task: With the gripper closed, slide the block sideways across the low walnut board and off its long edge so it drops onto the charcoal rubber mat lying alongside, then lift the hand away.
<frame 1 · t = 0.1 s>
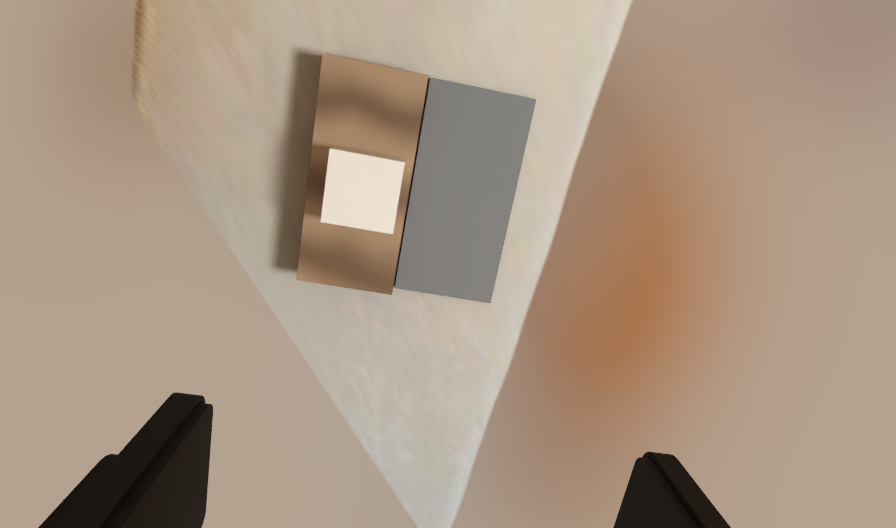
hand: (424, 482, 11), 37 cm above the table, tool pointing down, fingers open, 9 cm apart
mat: (461, 197, 46), on the table
board: (362, 178, 45), on the table
block: (364, 189, 43), point 2 cm above the table, touching board
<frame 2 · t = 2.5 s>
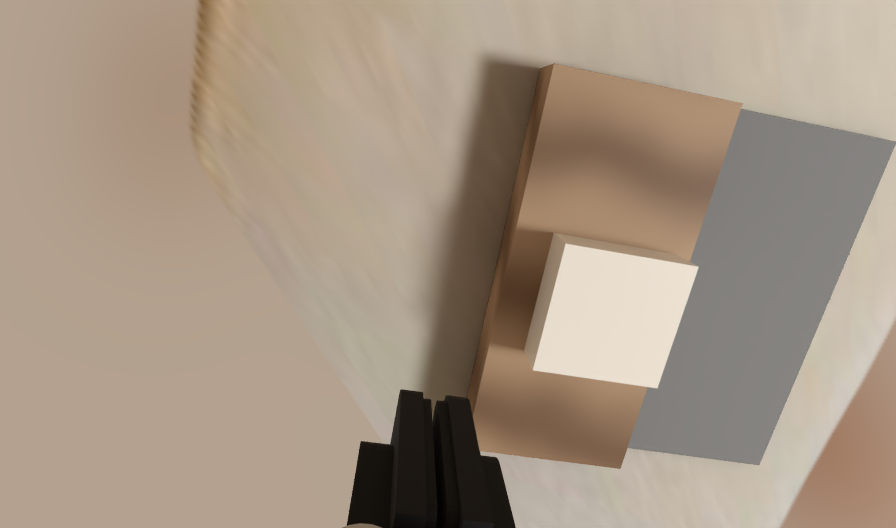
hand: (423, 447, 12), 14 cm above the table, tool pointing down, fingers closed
mat: (736, 302, 27), on the table
board: (575, 275, 26), on the table
block: (598, 303, 24), point 2 cm above the table, touching board
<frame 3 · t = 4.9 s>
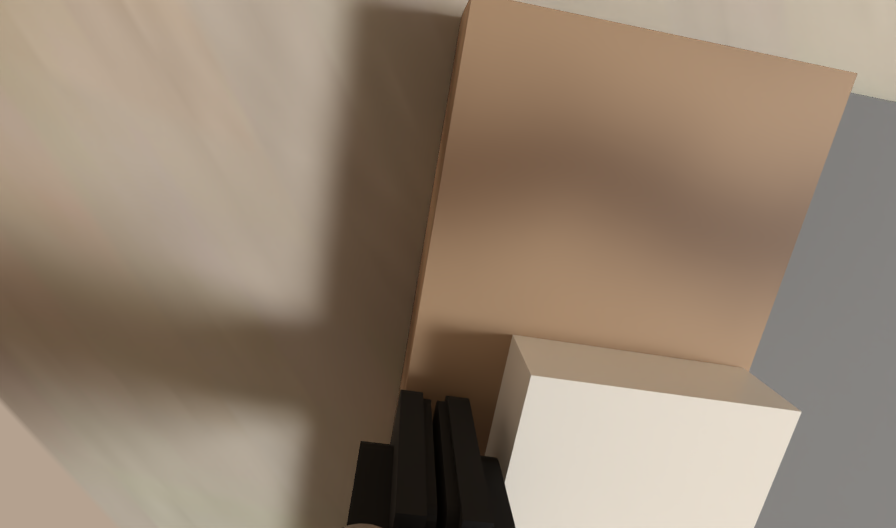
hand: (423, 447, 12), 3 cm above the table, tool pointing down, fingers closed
mat: (814, 417, 16), on the table
board: (542, 382, 15), on the table
block: (599, 455, 13), point 3 cm above the table, touching gripper
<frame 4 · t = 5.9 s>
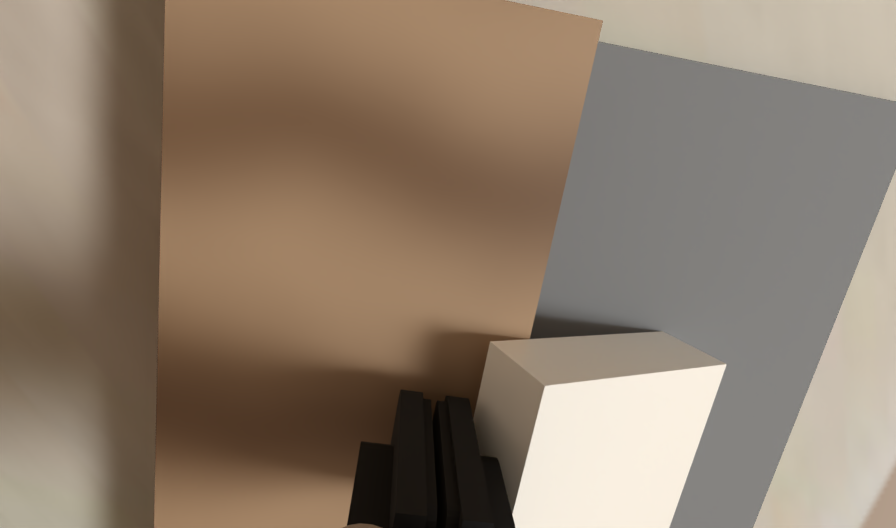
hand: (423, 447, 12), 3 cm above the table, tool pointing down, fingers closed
mat: (646, 396, 16), on the table
board: (351, 360, 15), on the table
block: (559, 436, 14), point 2 cm above the table, tilted 24°, touching gripper
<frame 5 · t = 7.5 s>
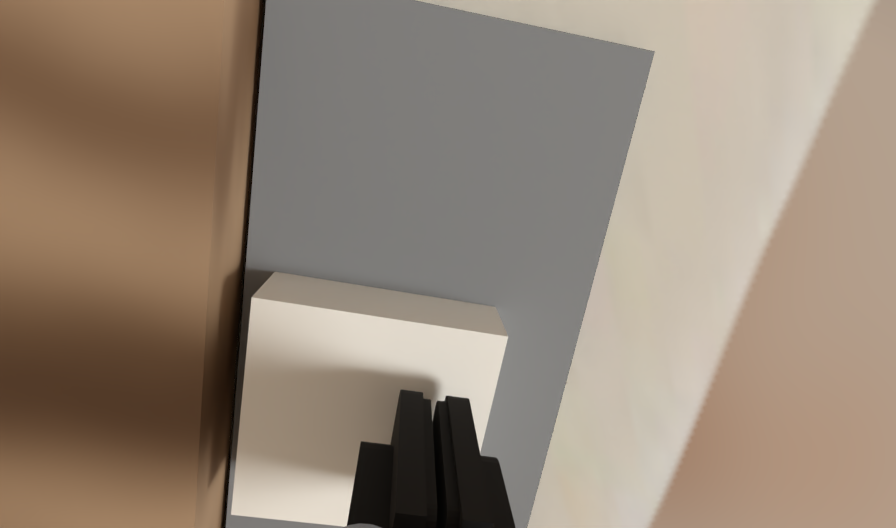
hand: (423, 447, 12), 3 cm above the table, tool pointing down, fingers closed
mat: (407, 363, 15), on the table
board: (78, 320, 14), on the table
block: (371, 387, 14), resting on mat
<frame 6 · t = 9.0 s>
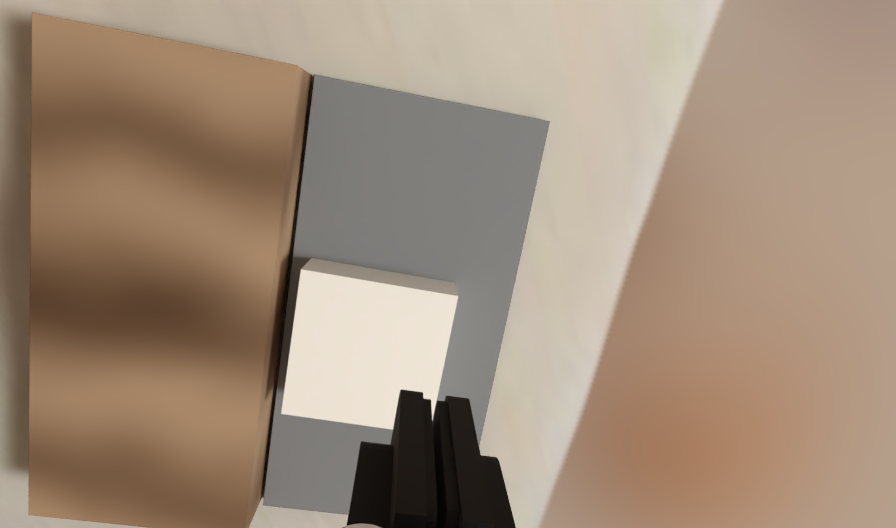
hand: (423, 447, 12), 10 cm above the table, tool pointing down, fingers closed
mat: (396, 322, 22), on the table
board: (181, 290, 21), on the table
block: (372, 337, 22), resting on mat
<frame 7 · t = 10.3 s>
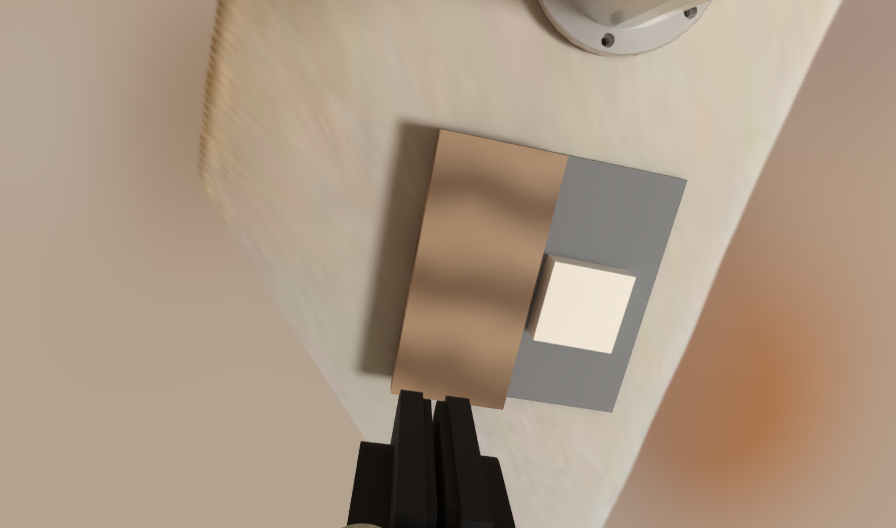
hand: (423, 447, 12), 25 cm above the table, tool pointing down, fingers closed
mat: (587, 291, 38), on the table
board: (470, 270, 37), on the table
block: (575, 299, 38), resting on mat
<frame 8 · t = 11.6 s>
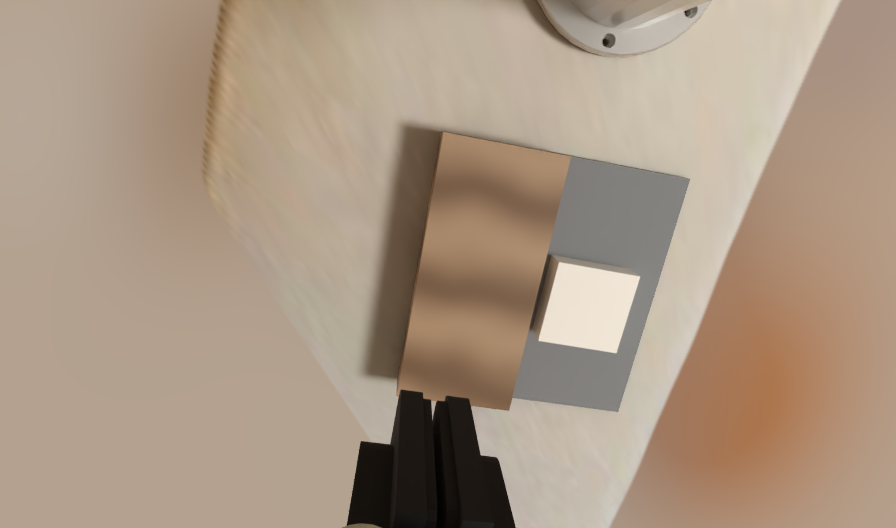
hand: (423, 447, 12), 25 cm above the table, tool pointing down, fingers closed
mat: (591, 291, 38), on the table
board: (474, 272, 37), on the table
block: (579, 299, 38), resting on mat
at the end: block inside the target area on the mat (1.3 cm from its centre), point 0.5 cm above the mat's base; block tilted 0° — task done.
